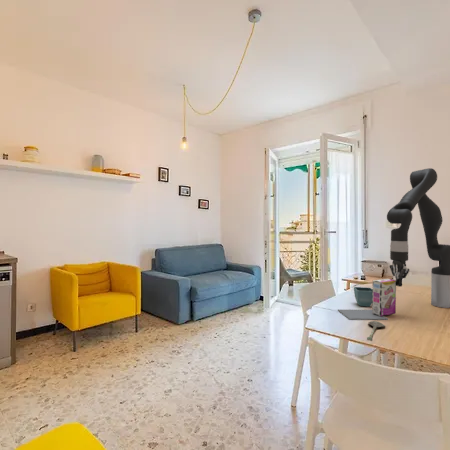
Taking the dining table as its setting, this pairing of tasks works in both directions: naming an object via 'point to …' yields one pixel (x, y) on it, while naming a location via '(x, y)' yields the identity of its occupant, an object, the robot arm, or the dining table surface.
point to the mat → (361, 315)
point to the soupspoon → (374, 327)
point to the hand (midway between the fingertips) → (398, 286)
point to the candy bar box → (384, 297)
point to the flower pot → (363, 296)
